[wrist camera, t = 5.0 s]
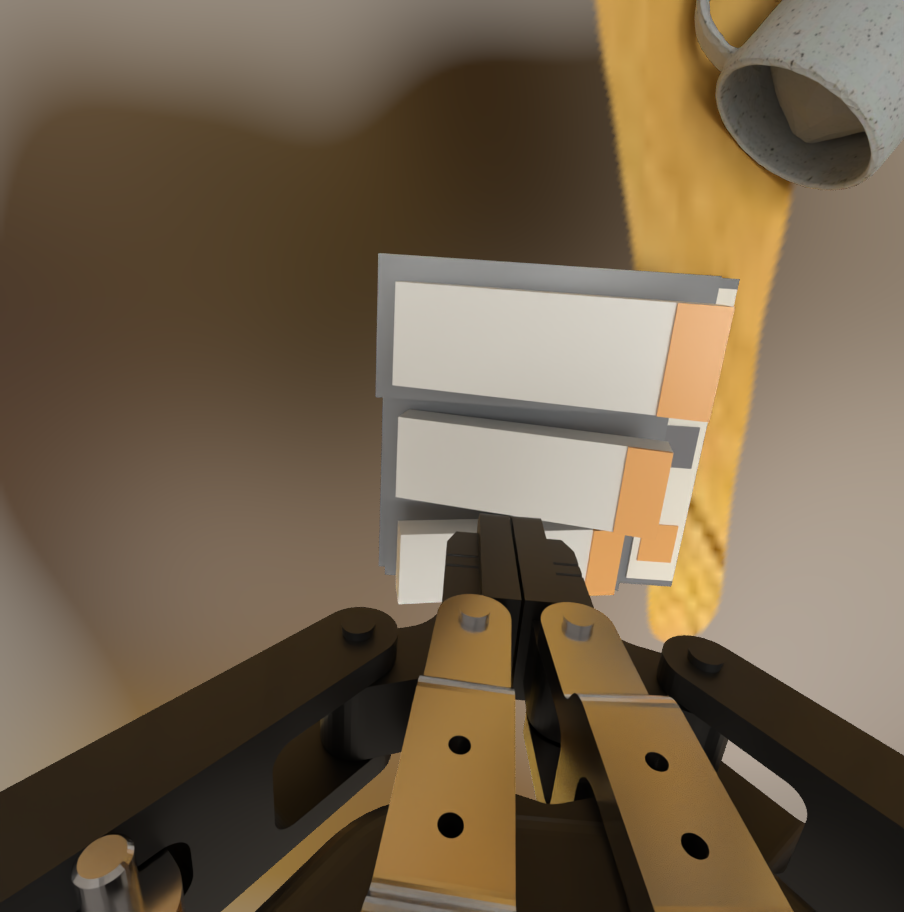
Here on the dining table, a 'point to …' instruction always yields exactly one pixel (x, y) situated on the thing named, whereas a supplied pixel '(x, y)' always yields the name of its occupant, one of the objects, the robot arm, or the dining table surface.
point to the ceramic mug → (814, 88)
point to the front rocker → (561, 347)
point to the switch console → (685, 437)
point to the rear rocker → (428, 538)
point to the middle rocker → (534, 471)
